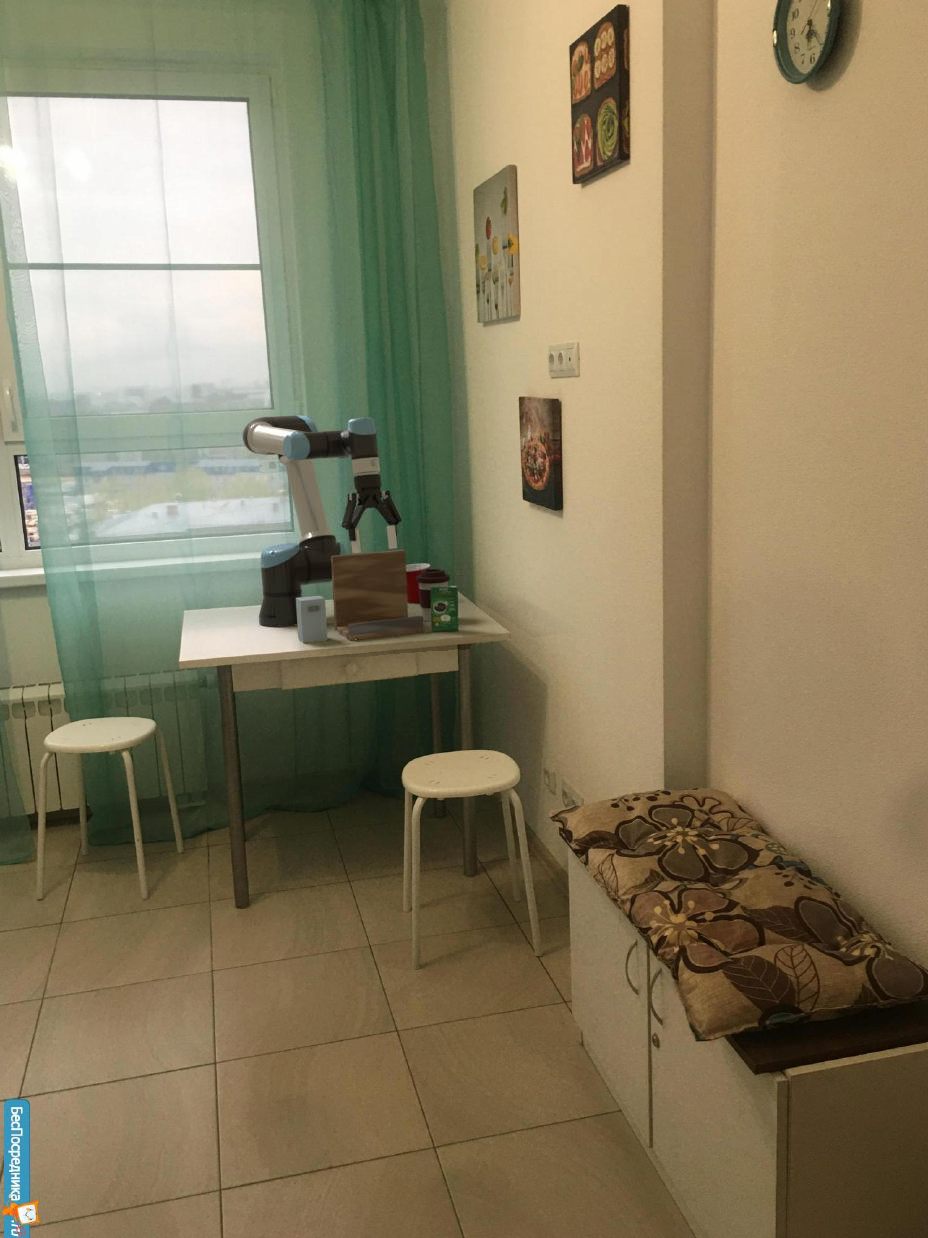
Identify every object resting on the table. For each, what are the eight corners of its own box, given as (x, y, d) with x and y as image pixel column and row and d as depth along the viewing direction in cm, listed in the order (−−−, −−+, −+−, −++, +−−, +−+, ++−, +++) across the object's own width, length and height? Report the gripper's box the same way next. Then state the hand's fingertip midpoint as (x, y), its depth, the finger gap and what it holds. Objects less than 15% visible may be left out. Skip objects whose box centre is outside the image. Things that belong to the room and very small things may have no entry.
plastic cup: (395, 600, 362) (393, 564, 360) (426, 597, 365) (425, 562, 363) (403, 606, 352) (401, 569, 349) (435, 603, 355) (434, 566, 353)
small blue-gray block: (298, 639, 308) (295, 597, 306) (322, 636, 311) (320, 595, 308) (303, 644, 303) (301, 601, 300) (328, 641, 305) (326, 598, 303)
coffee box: (459, 629, 315) (458, 584, 313) (459, 631, 312) (457, 586, 310) (431, 629, 316) (430, 585, 313) (431, 632, 313) (429, 587, 310)
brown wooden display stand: (335, 630, 318) (330, 555, 314) (405, 622, 327) (402, 549, 322) (350, 640, 305) (346, 562, 300) (423, 631, 313) (421, 555, 309)
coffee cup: (447, 623, 324) (445, 573, 321) (414, 622, 326) (412, 573, 323) (454, 616, 333) (452, 567, 330) (422, 616, 335) (420, 567, 332)
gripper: (341, 474, 291) (349, 554, 293) (408, 471, 309) (416, 545, 311) (323, 477, 297) (332, 555, 299) (390, 473, 314) (398, 547, 316)
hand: (375, 550), depth 305 cm, fingers open, 13 cm apart
